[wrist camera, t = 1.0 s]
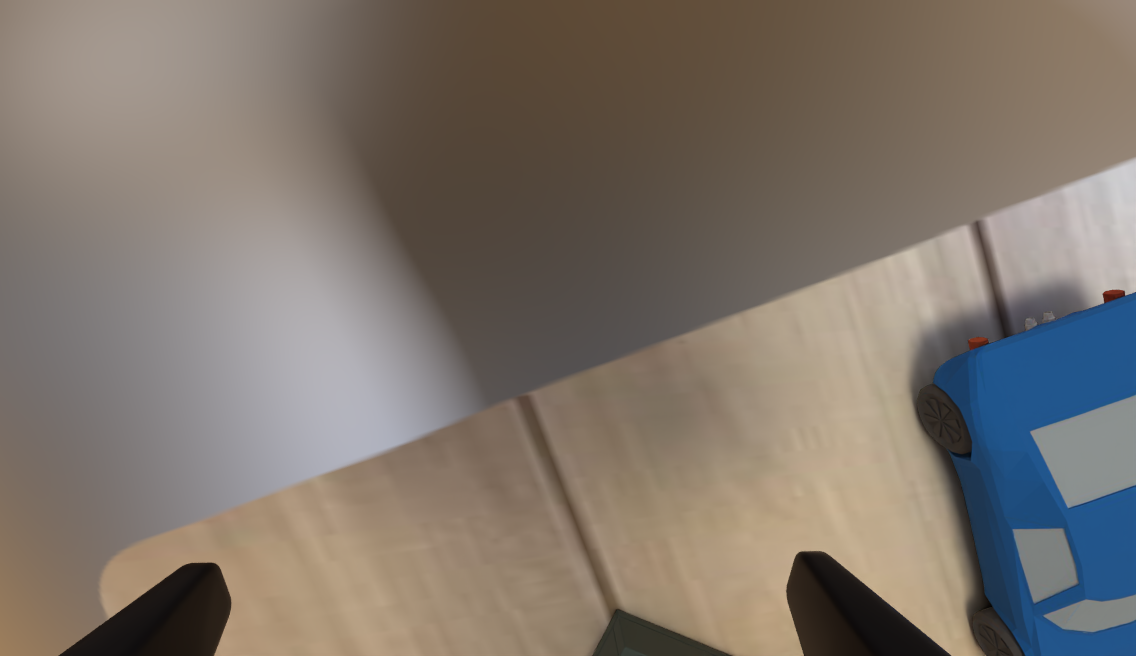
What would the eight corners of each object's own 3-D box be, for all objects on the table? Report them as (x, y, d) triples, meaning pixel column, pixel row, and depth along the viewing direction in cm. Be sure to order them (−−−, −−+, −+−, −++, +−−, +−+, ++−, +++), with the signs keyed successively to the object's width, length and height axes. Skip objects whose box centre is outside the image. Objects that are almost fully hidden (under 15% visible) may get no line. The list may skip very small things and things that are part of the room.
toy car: (987, 707, 27) (1086, 807, 22) (894, 339, 24) (984, 362, 19) (1159, 646, 27) (1296, 733, 22) (1087, 272, 24) (1226, 276, 19)
